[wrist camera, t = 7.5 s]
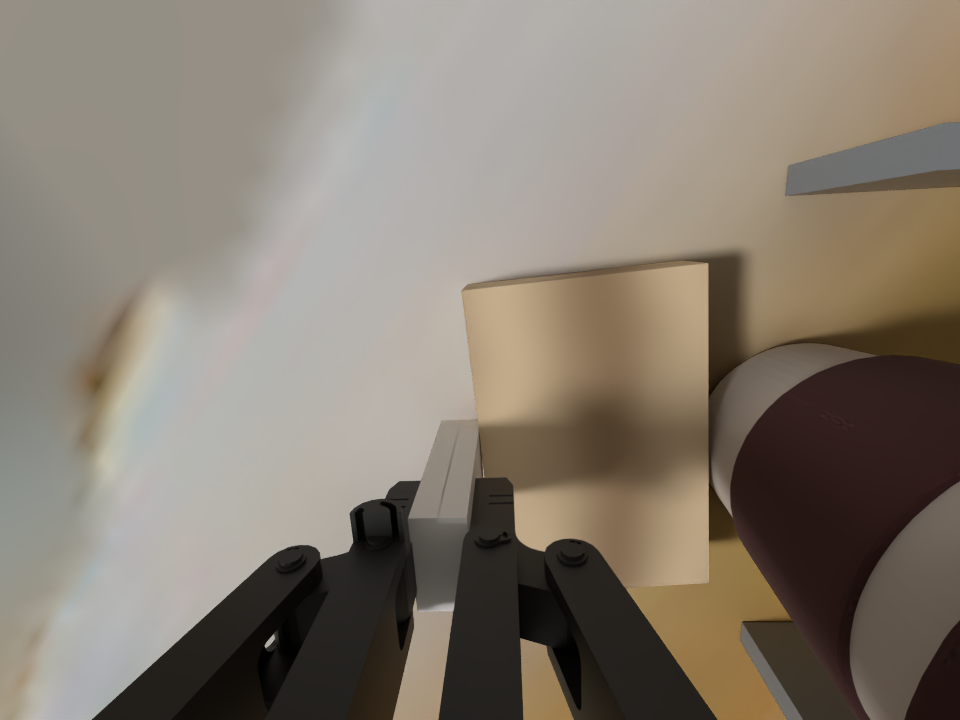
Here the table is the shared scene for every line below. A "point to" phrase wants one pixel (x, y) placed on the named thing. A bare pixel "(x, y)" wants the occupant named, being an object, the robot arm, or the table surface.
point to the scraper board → (600, 411)
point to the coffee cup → (852, 513)
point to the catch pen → (872, 167)
